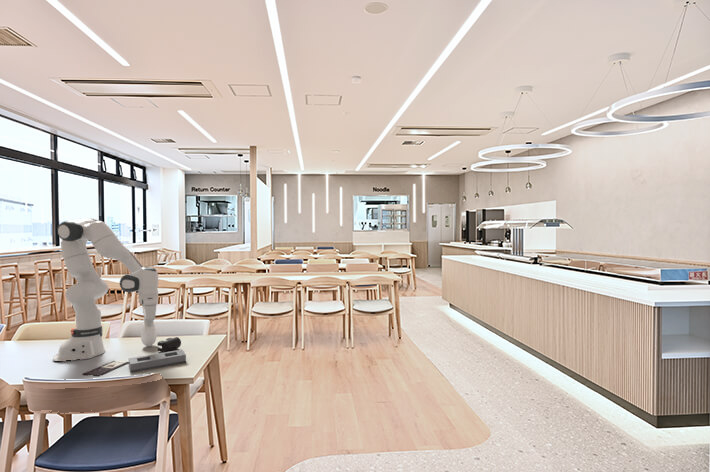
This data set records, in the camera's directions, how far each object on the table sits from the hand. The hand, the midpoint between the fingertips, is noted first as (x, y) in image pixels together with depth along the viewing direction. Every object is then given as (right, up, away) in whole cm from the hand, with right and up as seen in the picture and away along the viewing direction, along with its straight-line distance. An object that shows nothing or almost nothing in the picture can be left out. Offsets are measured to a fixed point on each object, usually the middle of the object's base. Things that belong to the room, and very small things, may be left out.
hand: (148, 325), depth 203 cm
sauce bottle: (-10, -16, +20) cm, 28 cm away
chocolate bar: (-12, -18, -15) cm, 26 cm away
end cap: (+6, -17, +10) cm, 20 cm away
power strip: (+10, -17, -10) cm, 22 cm away
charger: (0, -3, 0) cm, 3 cm away
